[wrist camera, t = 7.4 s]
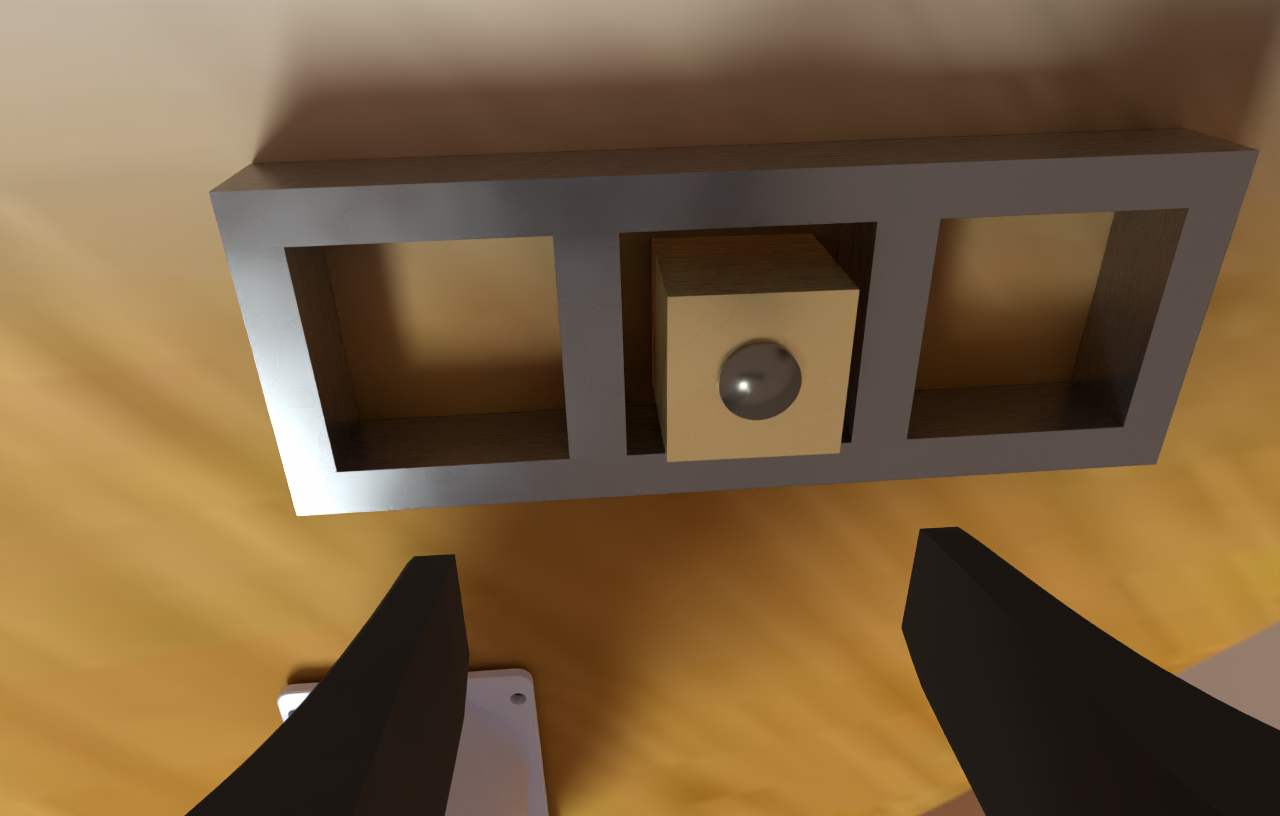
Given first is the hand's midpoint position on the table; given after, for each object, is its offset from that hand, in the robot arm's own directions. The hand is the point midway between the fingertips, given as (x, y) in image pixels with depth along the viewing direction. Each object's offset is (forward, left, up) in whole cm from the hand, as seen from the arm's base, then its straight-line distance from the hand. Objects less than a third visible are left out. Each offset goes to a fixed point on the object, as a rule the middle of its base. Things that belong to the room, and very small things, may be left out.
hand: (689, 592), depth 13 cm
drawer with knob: (+1, -2, -10) cm, 10 cm away
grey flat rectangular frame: (+1, -2, -10) cm, 10 cm away
